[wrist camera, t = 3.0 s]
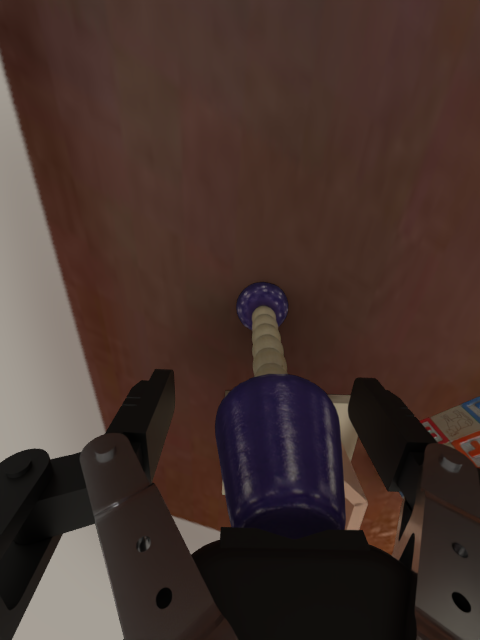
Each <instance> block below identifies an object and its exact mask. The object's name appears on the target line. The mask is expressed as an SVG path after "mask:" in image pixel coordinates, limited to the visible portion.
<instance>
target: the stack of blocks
mask: <svg viewBox="0 0 480 640" xmlns="http://www.w3.org/2000/svg"><path fill="white" fill-rule="evenodd" d="M420 422H421V424H422V425H423V426H424V427H425V428H426V429H427V431H428V432H429V433H430V434H431V435H432V436H433V437H434V439H435V440H436V441H437V442H438V443H439V444H444V445H447V446H450V447H452V448H454V449H456V450H458V451H459V452H461V453H463V454H464V455H465V456H466V457H468V458H469V459H470V460H471V461H472V462H473V463H474V465H475V466H476V467H477V468H480V396H479V397H477V398H475V399H472V400H470V401H468V402H465V403H463V404H461V405H459V406H456V407H454V408H451V409H449V410H447V411H444V412H442V413H439V414H437V415H435V416H432V417H430V418H426V419H424V420H421V421H420ZM399 493H400V495H401V496H402V498H403V499H404V495H403V493H402V492H399Z"/></svg>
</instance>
